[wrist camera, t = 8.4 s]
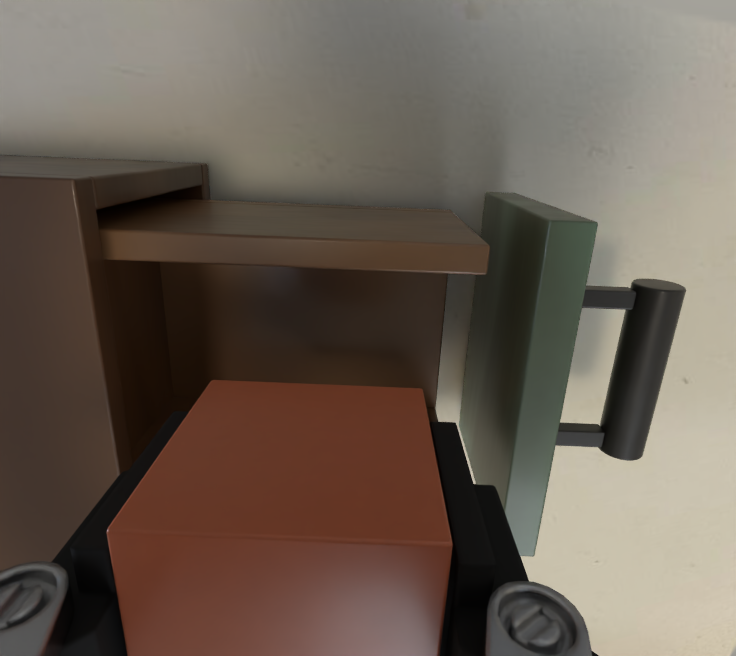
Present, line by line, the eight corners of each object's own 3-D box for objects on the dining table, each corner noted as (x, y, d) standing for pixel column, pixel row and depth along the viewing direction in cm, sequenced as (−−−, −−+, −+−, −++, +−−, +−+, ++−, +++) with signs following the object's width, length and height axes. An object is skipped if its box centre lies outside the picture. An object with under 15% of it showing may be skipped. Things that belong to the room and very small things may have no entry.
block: (211, 378, 10) (103, 529, 6) (422, 387, 10) (454, 544, 6) (223, 546, 12) (142, 759, 8) (408, 554, 12) (427, 770, 8)
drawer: (625, 197, 20) (773, 229, 12) (577, 430, 23) (670, 563, 16) (143, 177, 20) (4, 197, 12) (168, 413, 23) (72, 538, 16)
